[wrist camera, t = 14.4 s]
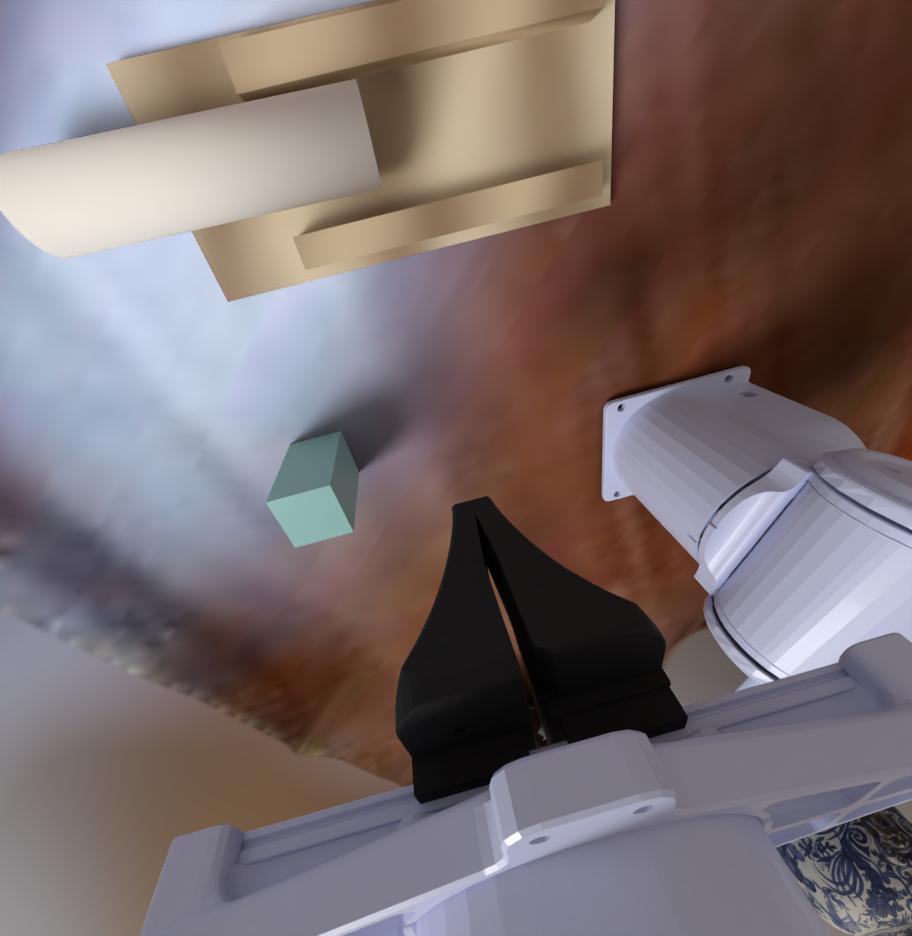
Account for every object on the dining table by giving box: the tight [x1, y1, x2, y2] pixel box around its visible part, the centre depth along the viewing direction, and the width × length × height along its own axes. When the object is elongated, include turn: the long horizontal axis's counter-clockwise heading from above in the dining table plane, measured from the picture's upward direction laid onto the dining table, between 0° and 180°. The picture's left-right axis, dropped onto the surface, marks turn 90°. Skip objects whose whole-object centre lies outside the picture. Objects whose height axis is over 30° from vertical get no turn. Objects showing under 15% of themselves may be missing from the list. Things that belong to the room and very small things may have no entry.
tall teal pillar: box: [266, 431, 359, 548], centre depth 20 cm, size 3×3×6 cm
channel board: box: [106, 0, 615, 302], centre depth 15 cm, size 18×8×2 cm, turn 102°
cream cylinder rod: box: [0, 79, 382, 259], centre depth 13 cm, size 12×3×3 cm, turn 101°
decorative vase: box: [776, 806, 912, 936], centre depth 55 cm, size 21×19×28 cm
